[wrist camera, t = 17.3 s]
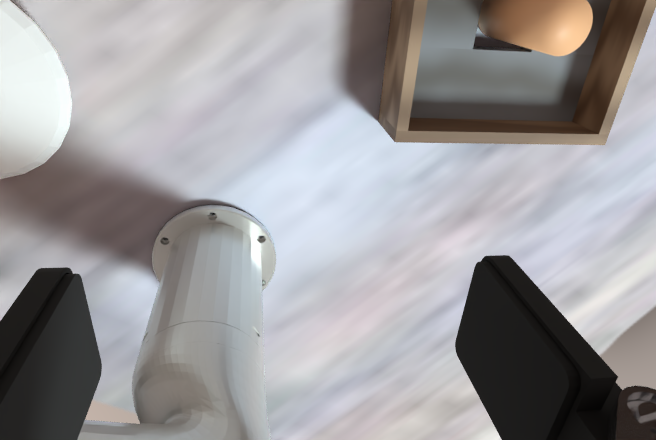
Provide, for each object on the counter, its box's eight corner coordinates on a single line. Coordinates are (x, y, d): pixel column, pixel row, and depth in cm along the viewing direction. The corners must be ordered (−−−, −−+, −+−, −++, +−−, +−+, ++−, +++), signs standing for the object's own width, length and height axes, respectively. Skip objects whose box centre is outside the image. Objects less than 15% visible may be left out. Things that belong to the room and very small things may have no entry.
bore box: (566, 125, 47) (604, 145, 42) (378, 121, 44) (395, 142, 39) (641, -112, 38) (703, -124, 32) (408, -138, 34) (436, -157, 29)
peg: (513, 39, 42) (582, 57, 33) (473, 37, 41) (531, 55, 33) (525, -10, 40) (600, -4, 32) (483, -13, 40) (548, -7, 31)
